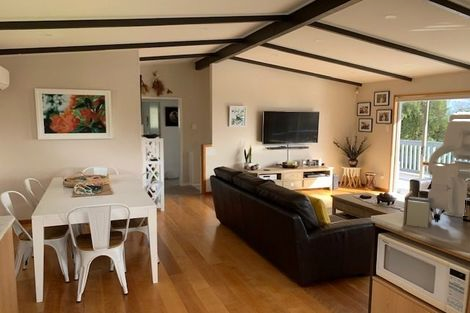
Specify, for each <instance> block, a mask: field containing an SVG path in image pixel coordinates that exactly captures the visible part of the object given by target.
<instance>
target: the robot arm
mask: <svg viewBox="0 0 470 313" xmlns="http://www.w3.org/2000/svg"><path fill="white" fill-rule="evenodd" d="M448 119H449V120H448V123H447V126H446V129H445V130H446V131H445V134H444V139H443V143H442V145H440V146H439V147H438V148H436V149H435V150H434V151H433V152H432V154H431V155H430V158H429V161H428V165H427V172H428V174H429V175H431V186H430V187H431V188H430V189H429V191H428V193H427V195H428V196H427V199H429V200H430V210H431V211H432V215H433V218H434V219H433V220H434V222H435V223H436V222H437V223H439V221H441V215H443V214H444V215H446V216H450V217H457V218H464V217H463V214H464V208H465V200H466V201H467V193H468V185H467V182H466V181H465V179H467V180H470V162H468V161H470V112H457V113H456V112H454V113H452V114H450V115H449V118H448ZM449 153H452V157H453V158H455V159H456V160H463V161H452V162H451V161H450V162H449V163H446V162H437V161H438V159H440V158H441V157H442V156H444V155H446V154H449ZM437 210H438V213H437Z"/></svg>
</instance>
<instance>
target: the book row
mask: <svg viewBox="0 0 470 313" xmlns="http://www.w3.org/2000/svg"><path fill="white" fill-rule="evenodd" d="M413 197H414V196H412V197H409V200H408V205H407V221H406V224H405V225H406V226H414V227H418V226H419V227H418V228H424V227H425V228H426V229H428V228H429V226H430V221H429V215H430V200H429V199H428V198H427V199H421V198H422V197H418V198H413Z"/></svg>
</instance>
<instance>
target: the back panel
mask: <svg viewBox="0 0 470 313" xmlns="http://www.w3.org/2000/svg"><path fill="white" fill-rule="evenodd" d="M409 197H413V191H412V190H410V191H409V192H408V193H407V194H406V195H405V196H404V203H403V204H404V206H403V221H402V222H403V224H402V225H406V221H407V205H408V200H409Z"/></svg>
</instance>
